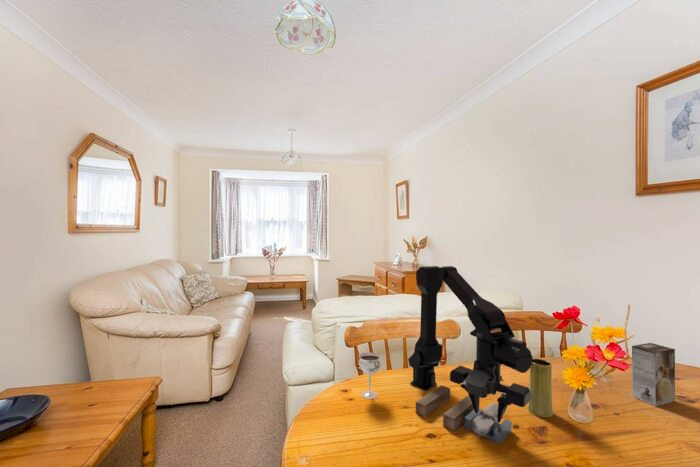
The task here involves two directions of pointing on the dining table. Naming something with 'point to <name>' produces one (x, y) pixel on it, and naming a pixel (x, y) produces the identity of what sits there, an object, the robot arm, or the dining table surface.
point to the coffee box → (653, 373)
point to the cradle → (496, 432)
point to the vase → (540, 388)
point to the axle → (485, 420)
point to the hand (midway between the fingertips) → (487, 417)
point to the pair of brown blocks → (438, 398)
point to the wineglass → (369, 370)
